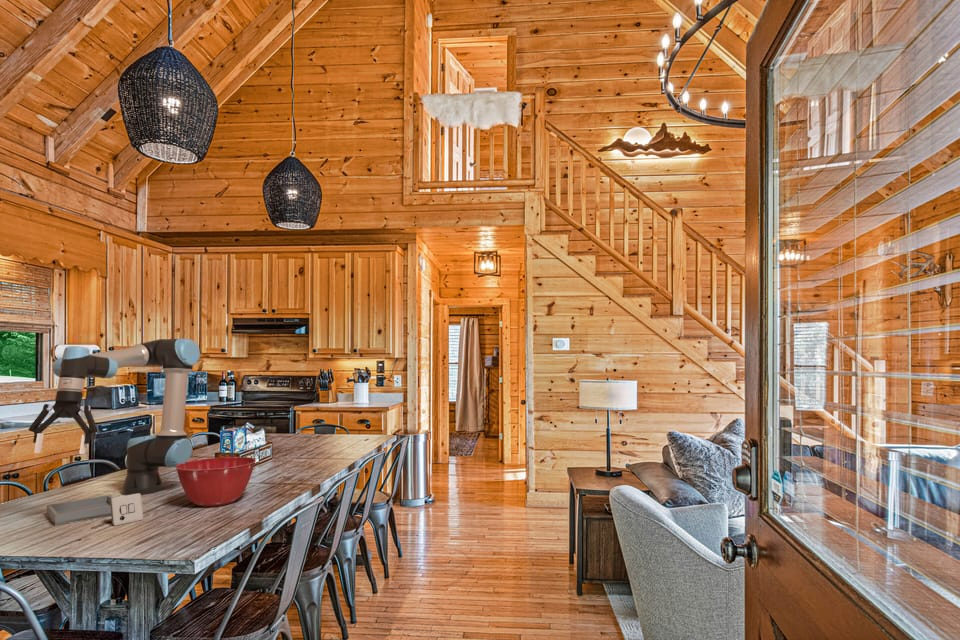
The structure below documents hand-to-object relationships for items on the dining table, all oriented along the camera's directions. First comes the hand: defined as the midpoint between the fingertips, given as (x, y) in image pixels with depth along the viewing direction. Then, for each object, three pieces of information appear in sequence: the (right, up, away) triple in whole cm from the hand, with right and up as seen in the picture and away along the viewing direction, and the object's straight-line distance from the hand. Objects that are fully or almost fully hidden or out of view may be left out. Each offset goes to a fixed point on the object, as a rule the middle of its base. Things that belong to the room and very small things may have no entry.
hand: (59, 453), depth 200 cm
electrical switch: (+20, -25, +3) cm, 32 cm away
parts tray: (-1, -25, +14) cm, 29 cm away
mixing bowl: (+41, -26, +28) cm, 56 cm away
